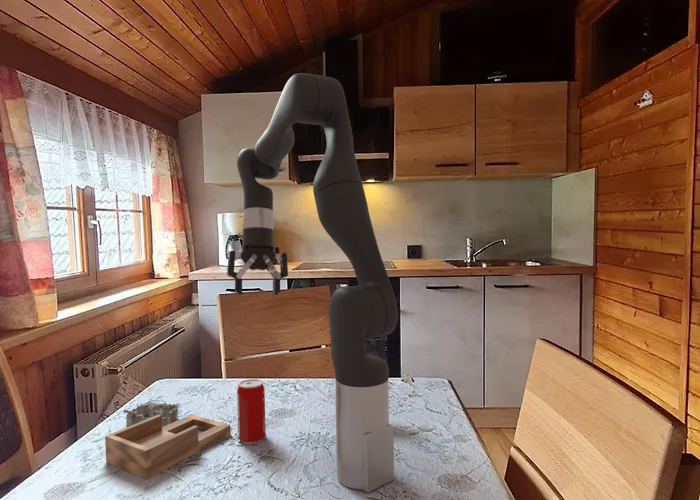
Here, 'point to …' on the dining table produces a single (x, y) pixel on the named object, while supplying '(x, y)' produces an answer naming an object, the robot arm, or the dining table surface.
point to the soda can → (251, 411)
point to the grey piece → (152, 413)
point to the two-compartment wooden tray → (161, 443)
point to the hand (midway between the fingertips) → (257, 295)
